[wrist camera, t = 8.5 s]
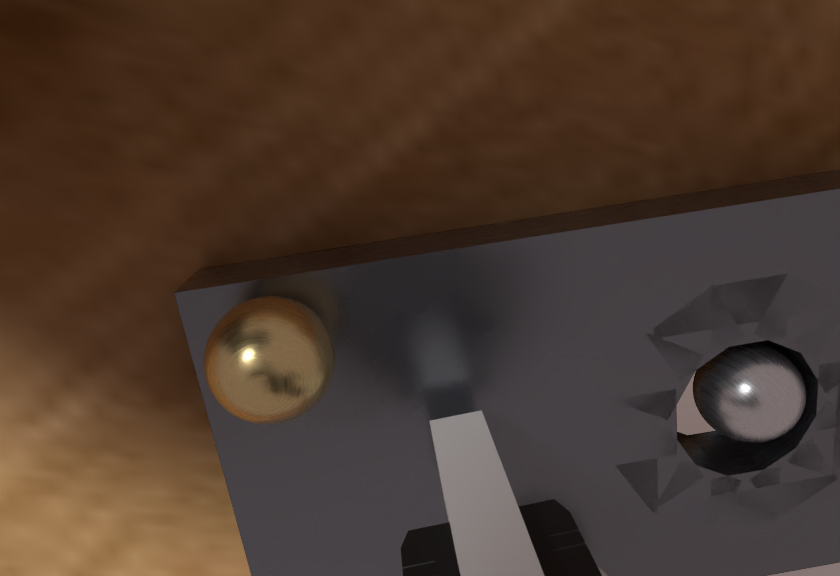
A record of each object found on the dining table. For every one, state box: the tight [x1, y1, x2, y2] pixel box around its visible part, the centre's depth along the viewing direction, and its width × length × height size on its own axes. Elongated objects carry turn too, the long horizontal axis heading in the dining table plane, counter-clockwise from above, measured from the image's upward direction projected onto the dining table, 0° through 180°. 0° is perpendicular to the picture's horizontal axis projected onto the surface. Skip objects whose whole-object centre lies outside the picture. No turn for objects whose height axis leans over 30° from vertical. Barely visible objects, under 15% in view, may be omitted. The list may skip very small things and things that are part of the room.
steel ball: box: [693, 343, 806, 442], centre depth 19 cm, size 3×3×3 cm
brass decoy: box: [204, 296, 335, 425], centre depth 15 cm, size 3×3×3 cm
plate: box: [174, 170, 840, 576], centre depth 19 cm, size 22×13×2 cm, turn 98°
